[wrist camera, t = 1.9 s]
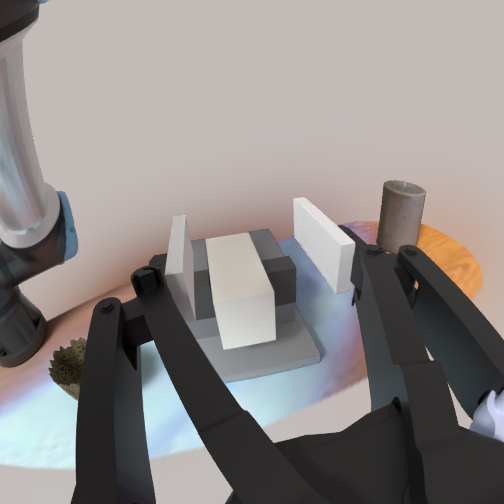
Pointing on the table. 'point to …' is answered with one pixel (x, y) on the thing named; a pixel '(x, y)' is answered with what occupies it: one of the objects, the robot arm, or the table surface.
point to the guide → (286, 318)
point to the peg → (240, 291)
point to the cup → (69, 367)
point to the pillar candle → (400, 215)
